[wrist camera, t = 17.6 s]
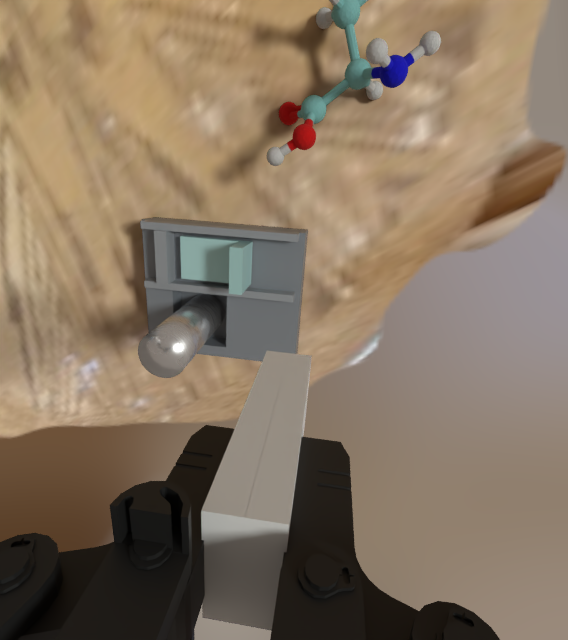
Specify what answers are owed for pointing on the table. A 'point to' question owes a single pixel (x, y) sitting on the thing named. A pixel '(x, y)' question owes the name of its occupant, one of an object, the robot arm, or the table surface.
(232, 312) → the housing
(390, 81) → the molecular model
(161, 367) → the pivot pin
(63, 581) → the robot arm
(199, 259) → the lid
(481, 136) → the table surface
